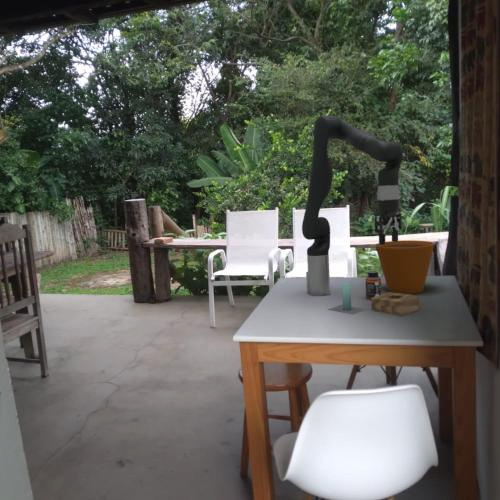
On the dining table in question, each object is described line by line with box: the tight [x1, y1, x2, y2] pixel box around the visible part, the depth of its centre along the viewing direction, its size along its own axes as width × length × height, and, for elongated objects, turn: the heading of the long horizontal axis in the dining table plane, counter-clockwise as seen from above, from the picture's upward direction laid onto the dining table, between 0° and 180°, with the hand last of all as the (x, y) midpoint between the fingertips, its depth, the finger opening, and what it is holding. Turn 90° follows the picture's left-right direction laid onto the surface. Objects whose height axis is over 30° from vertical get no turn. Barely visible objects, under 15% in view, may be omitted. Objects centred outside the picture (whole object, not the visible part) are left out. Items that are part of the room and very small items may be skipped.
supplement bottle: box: [365, 270, 382, 301], centre depth 195 cm, size 6×6×11 cm
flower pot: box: [375, 239, 435, 294], centre depth 208 cm, size 24×24×20 cm
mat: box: [327, 304, 368, 315], centre depth 181 cm, size 12×9×1 cm
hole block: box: [370, 291, 420, 317], centre depth 176 cm, size 12×12×5 cm
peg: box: [341, 281, 352, 310], centre depth 180 cm, size 3×3×10 cm
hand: (388, 243), depth 176 cm, fingers open, 8 cm apart
